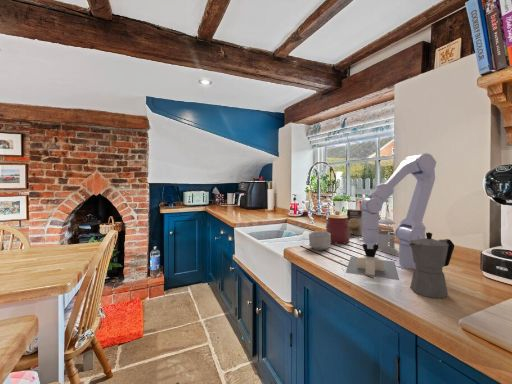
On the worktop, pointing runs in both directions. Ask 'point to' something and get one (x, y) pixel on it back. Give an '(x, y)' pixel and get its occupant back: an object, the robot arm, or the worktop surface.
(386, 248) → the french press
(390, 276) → the slate mat
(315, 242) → the teacup
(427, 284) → the coffeepot
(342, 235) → the canister
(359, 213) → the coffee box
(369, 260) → the t block
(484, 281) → the worktop surface
